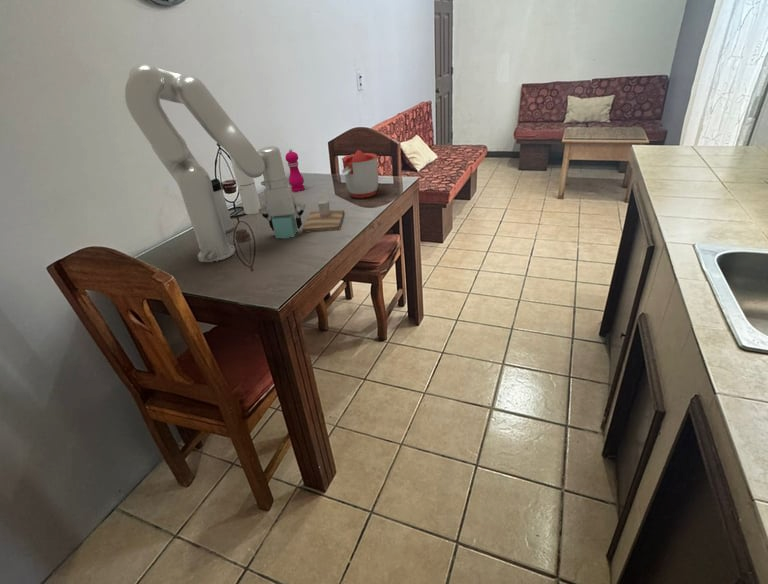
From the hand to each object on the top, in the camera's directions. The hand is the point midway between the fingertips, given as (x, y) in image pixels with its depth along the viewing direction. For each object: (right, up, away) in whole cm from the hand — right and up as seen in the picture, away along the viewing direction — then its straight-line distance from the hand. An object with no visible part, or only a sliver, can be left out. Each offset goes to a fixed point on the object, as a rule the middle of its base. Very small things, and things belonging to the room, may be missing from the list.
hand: (286, 228), depth 158 cm
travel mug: (-27, 0, +11) cm, 29 cm away
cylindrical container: (-21, +12, +28) cm, 37 cm away
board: (+13, +4, +9) cm, 16 cm away
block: (+13, +7, +12) cm, 19 cm away
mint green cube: (0, -2, +1) cm, 3 cm away
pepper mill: (-6, +27, +51) cm, 58 cm away
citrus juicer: (+27, +20, +35) cm, 48 cm away
